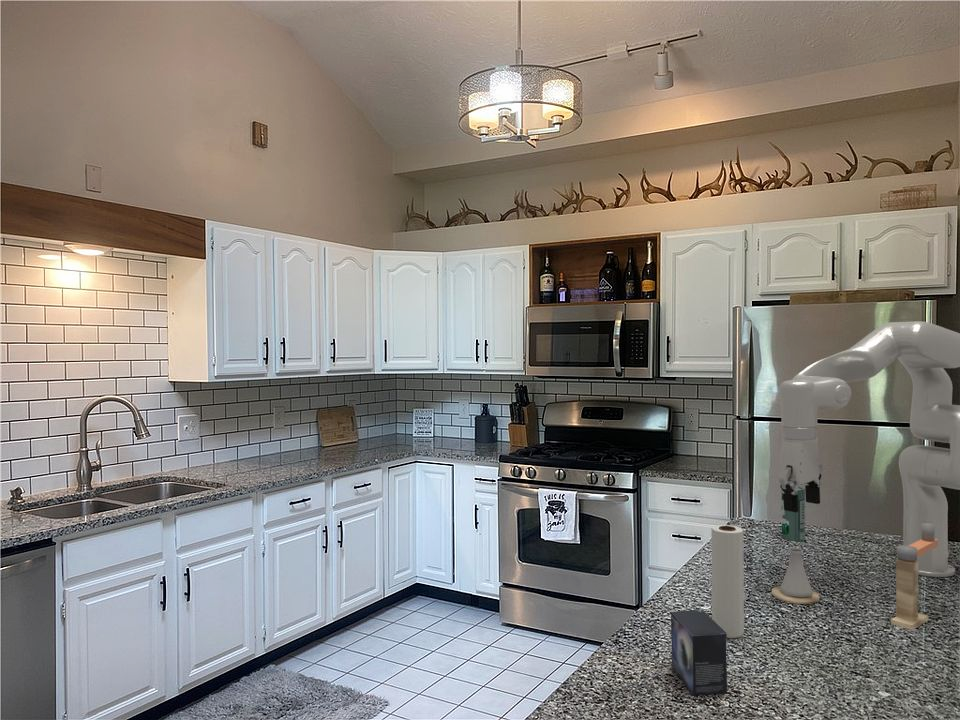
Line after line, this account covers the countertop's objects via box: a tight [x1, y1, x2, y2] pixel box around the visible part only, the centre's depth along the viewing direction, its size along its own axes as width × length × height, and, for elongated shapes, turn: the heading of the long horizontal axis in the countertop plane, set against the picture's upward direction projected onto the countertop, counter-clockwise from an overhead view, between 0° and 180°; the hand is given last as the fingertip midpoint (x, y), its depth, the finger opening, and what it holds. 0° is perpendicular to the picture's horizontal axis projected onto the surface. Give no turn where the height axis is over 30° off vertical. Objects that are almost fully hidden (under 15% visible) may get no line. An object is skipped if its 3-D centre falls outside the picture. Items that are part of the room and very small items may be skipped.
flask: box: [779, 547, 814, 597], centre depth 161 cm, size 7×7×10 cm
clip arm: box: [896, 523, 938, 561], centre depth 149 cm, size 4×16×5 cm, turn 129°
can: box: [781, 485, 806, 542], centre depth 208 cm, size 6×6×15 cm
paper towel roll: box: [711, 522, 745, 639], centre depth 141 cm, size 7×6×21 cm
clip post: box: [890, 558, 929, 631], centre depth 145 cm, size 8×4×13 cm, turn 127°
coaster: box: [771, 585, 820, 605], centre depth 161 cm, size 10×10×1 cm
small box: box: [670, 609, 729, 696], centre depth 122 cm, size 11×6×10 cm, turn 5°
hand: (802, 507), depth 162 cm, fingers open, 9 cm apart
